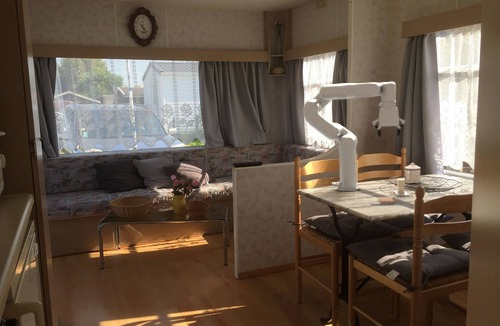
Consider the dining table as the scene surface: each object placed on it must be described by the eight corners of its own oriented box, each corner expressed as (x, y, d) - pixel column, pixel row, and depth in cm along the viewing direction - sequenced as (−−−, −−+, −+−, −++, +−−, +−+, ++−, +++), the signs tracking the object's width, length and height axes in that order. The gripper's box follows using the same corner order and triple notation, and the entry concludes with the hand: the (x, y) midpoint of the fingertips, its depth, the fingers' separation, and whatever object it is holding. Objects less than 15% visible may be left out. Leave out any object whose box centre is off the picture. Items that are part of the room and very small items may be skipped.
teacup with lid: (407, 180, 265) (407, 161, 263) (422, 181, 259) (423, 162, 257) (400, 183, 256) (400, 164, 254) (415, 185, 250) (415, 165, 248)
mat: (371, 206, 208) (371, 205, 207) (367, 199, 223) (367, 198, 223) (405, 206, 205) (405, 205, 205) (399, 198, 221) (399, 197, 220)
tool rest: (393, 198, 222) (393, 197, 221) (389, 193, 234) (389, 191, 234) (413, 198, 220) (413, 196, 220) (408, 192, 233) (408, 191, 232)
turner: (396, 196, 223) (396, 181, 221) (393, 192, 232) (393, 178, 231) (408, 196, 222) (409, 181, 220) (405, 191, 231) (405, 177, 230)
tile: (378, 200, 217) (381, 204, 210) (378, 197, 217) (380, 201, 209) (391, 199, 217) (393, 203, 209) (391, 197, 216) (393, 200, 208)
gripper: (373, 106, 232) (373, 137, 235) (406, 104, 229) (406, 136, 232) (371, 105, 239) (371, 136, 242) (403, 104, 237) (403, 135, 239)
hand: (388, 136), depth 237 cm, fingers open, 9 cm apart
